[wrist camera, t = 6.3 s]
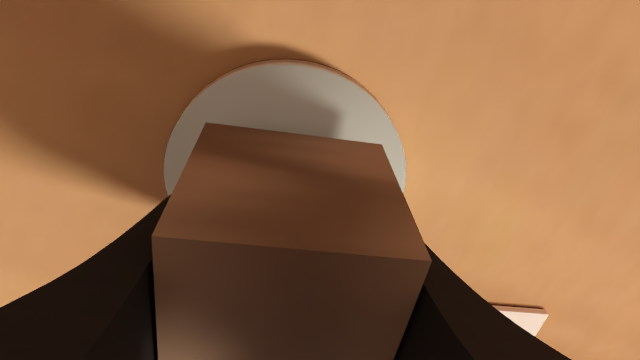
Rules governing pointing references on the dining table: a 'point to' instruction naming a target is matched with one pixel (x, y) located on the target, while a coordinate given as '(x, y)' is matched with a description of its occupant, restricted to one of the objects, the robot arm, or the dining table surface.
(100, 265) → the robot arm
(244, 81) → the saucer
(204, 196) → the walnut block
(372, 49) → the dining table surface
